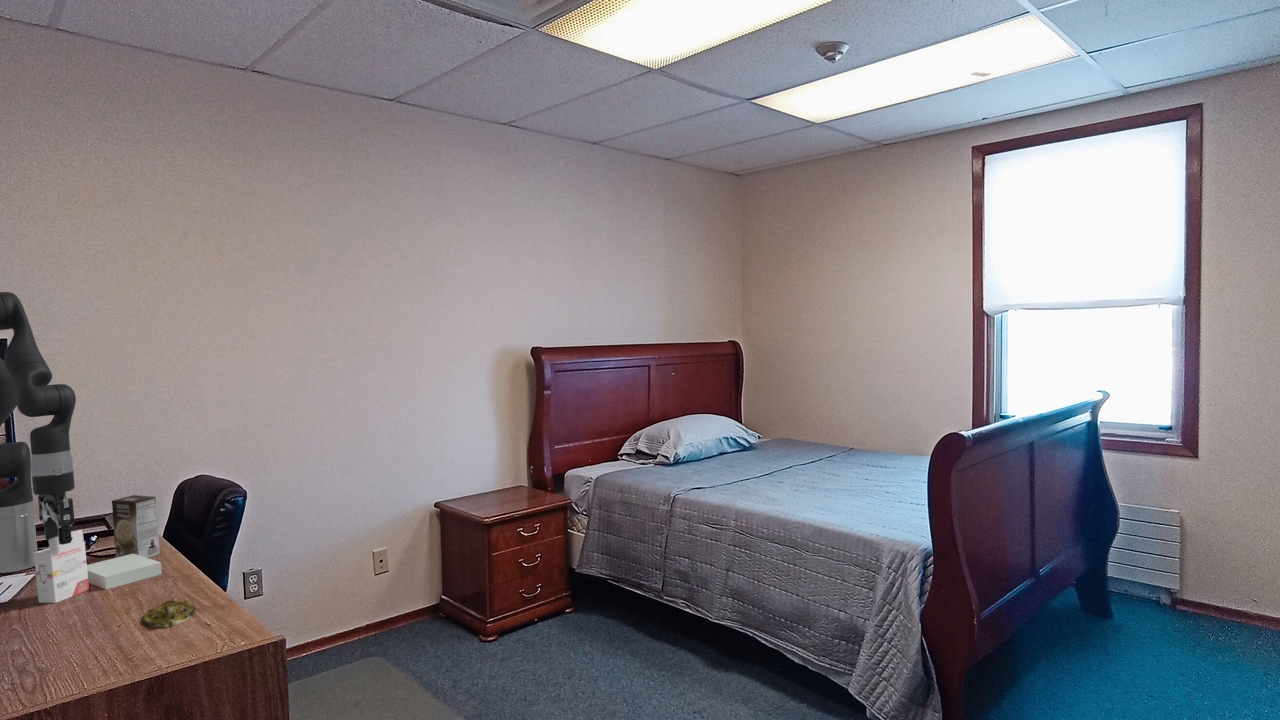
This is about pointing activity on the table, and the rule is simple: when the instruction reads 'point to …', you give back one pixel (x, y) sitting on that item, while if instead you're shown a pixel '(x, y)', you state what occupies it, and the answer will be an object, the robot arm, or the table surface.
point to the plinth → (122, 571)
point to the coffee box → (135, 526)
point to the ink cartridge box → (61, 569)
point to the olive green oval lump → (169, 614)
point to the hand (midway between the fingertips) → (58, 541)
